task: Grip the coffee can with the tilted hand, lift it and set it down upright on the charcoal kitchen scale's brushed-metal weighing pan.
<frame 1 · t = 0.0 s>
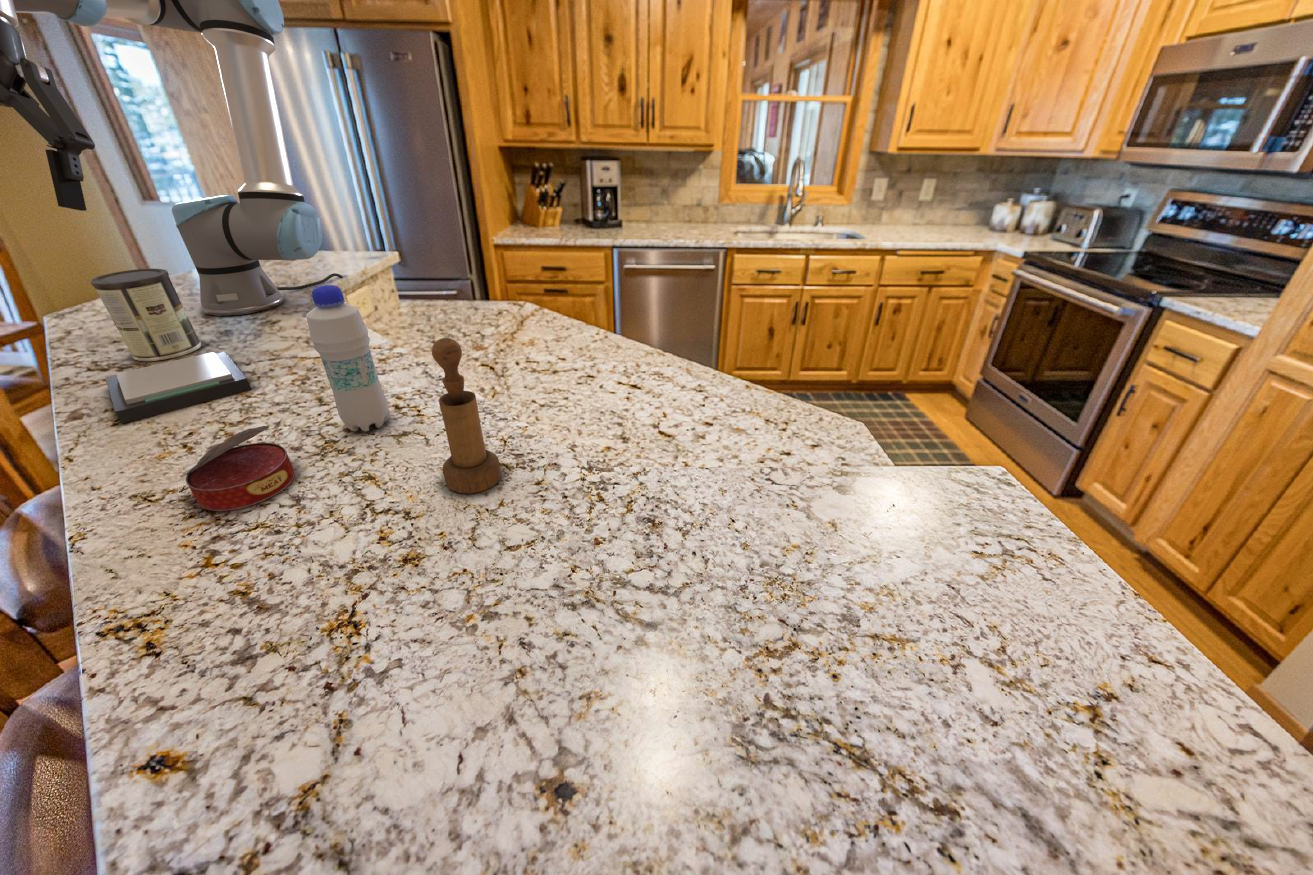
hand: (18, 208, 67), 28 cm above the countertop, tool tilted 20°, fingers open, 13 cm apart
canned food: (248, 486, 64), on the countertop
coffee can: (168, 352, 100), on the countertop
scale: (181, 389, 86), on the countertop
bottle: (368, 425, 77), on the countertop
mortar and pestle: (474, 479, 65), on the countertop
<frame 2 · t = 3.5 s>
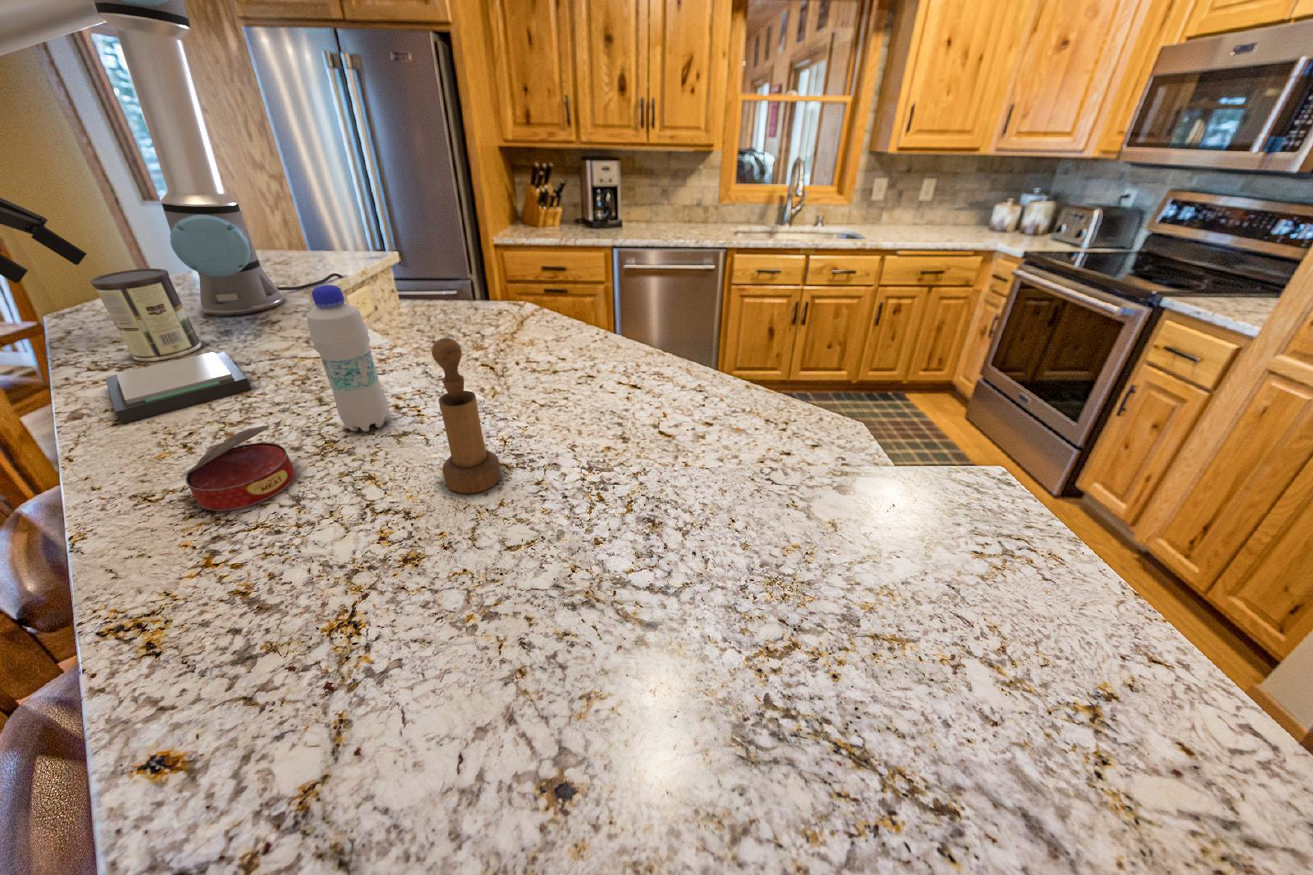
hand: (53, 267, 89), 16 cm above the countertop, tool tilted 40°, fingers open, 13 cm apart
nothing on the countertop moved.
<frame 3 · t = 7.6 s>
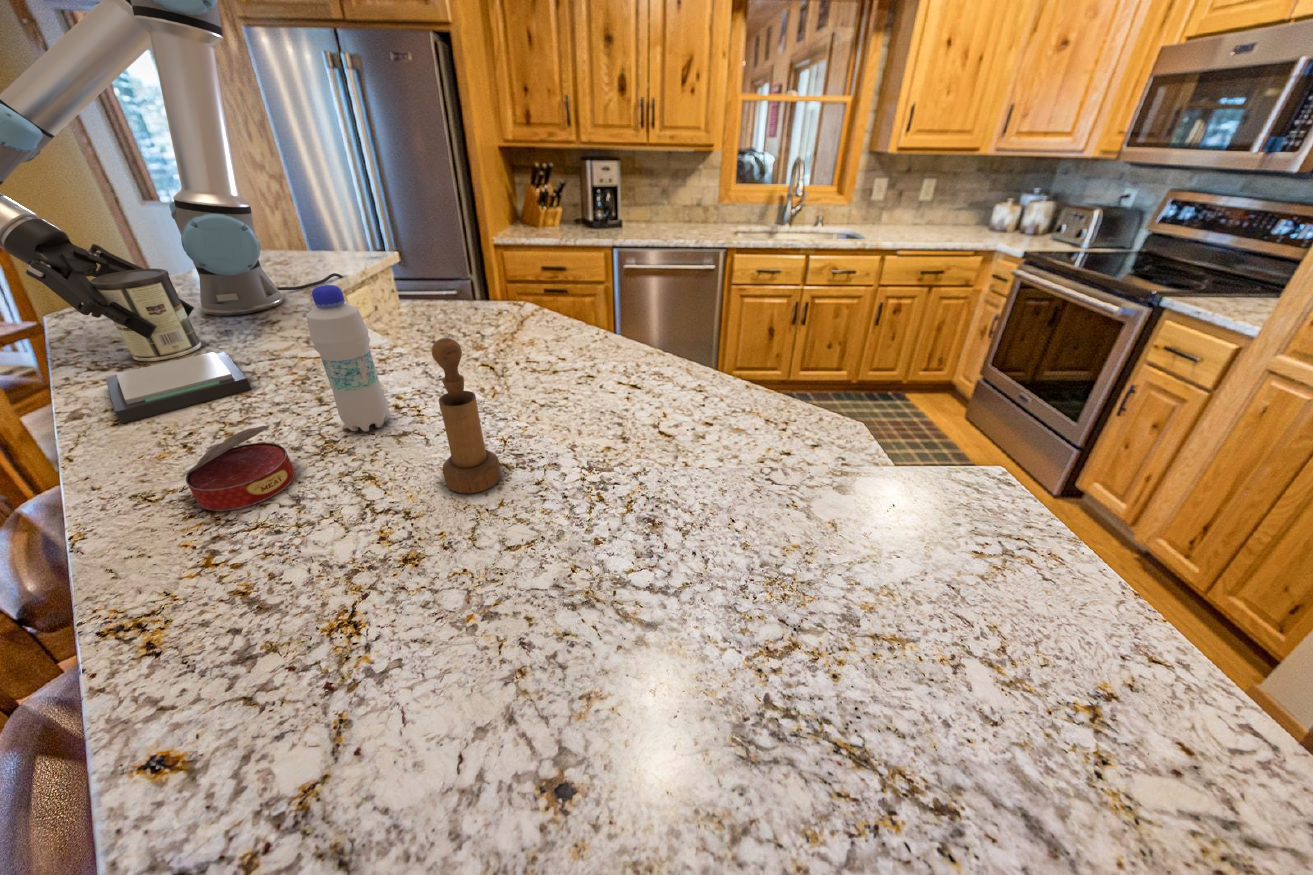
hand: (171, 322, 97), 5 cm above the countertop, tool tilted 45°, fingers closed on coffee can, 10 cm apart
coffee can: (168, 352, 100), on the countertop, touching gripper
everything else where it was.
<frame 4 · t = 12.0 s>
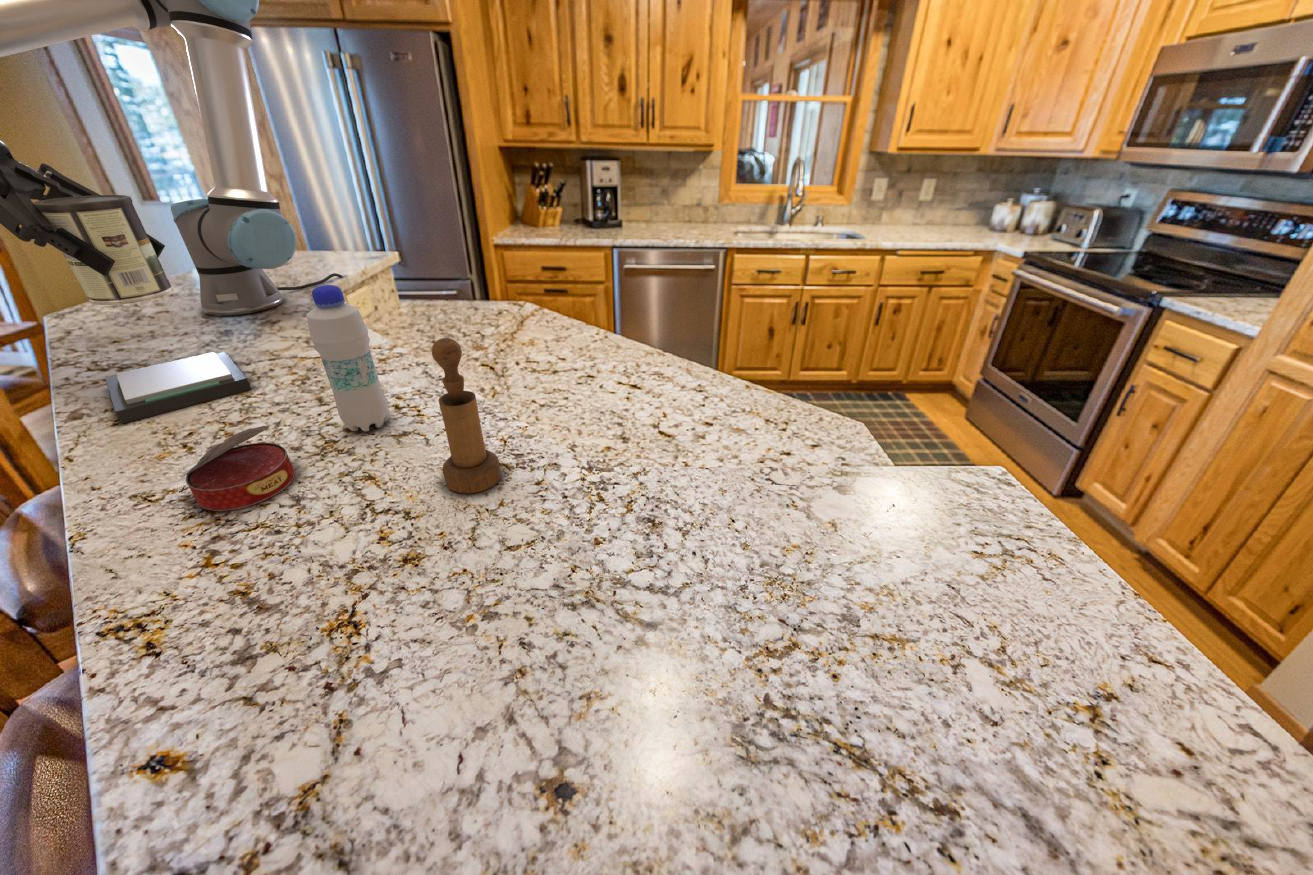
hand: (136, 259, 81), 19 cm above the countertop, tool tilted 45°, fingers closed on coffee can, 10 cm apart
coffee can: (133, 297, 84), point 13 cm above the countertop, touching gripper
everything else where it was.
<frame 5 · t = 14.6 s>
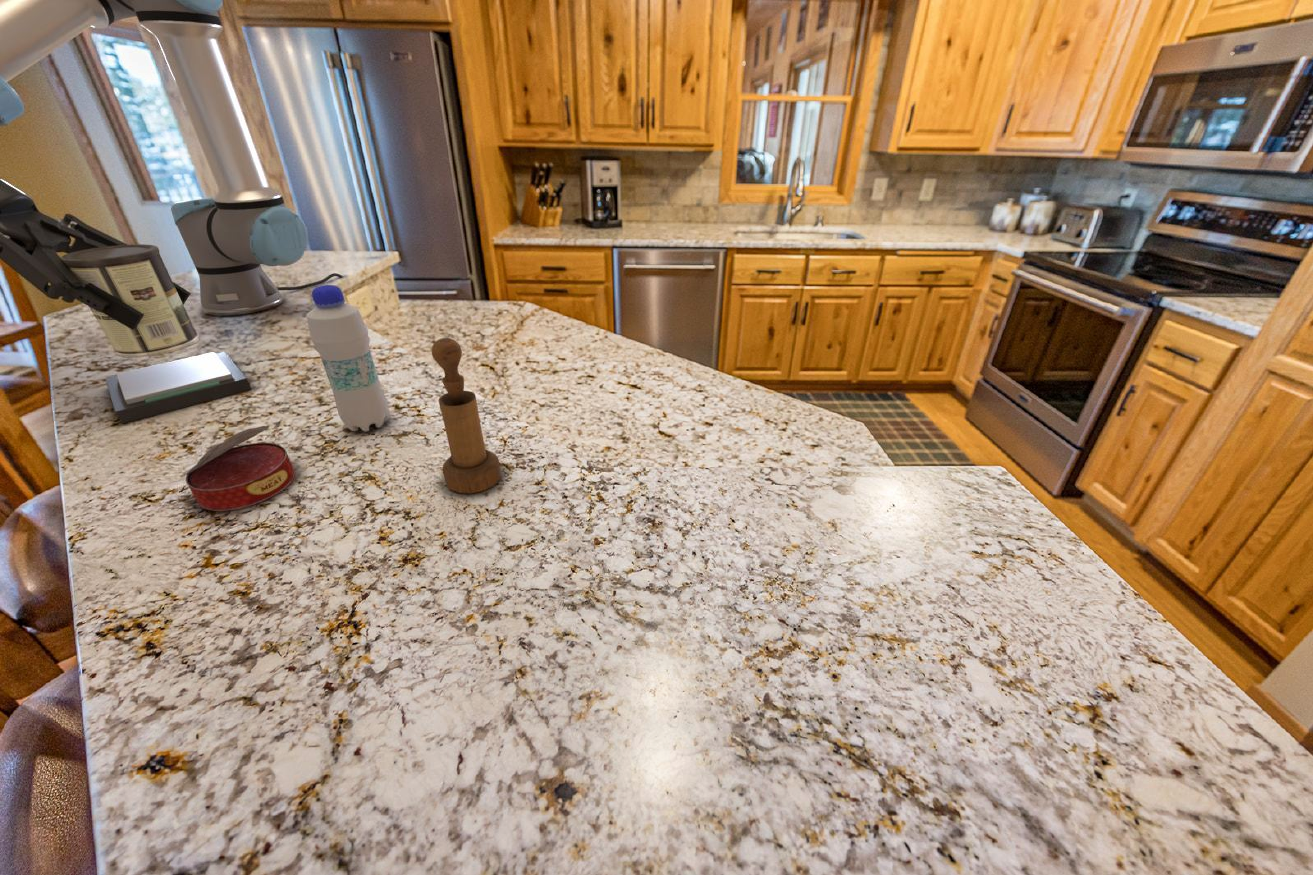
hand: (163, 310, 79), 13 cm above the countertop, tool tilted 45°, fingers closed on coffee can, 10 cm apart
coffee can: (158, 346, 82), point 7 cm above the countertop, touching gripper
everything else where it was.
when the fingers open (8 cm above the countertop, at t = 16.5 s): coffee can stays where it is, resting on scale.
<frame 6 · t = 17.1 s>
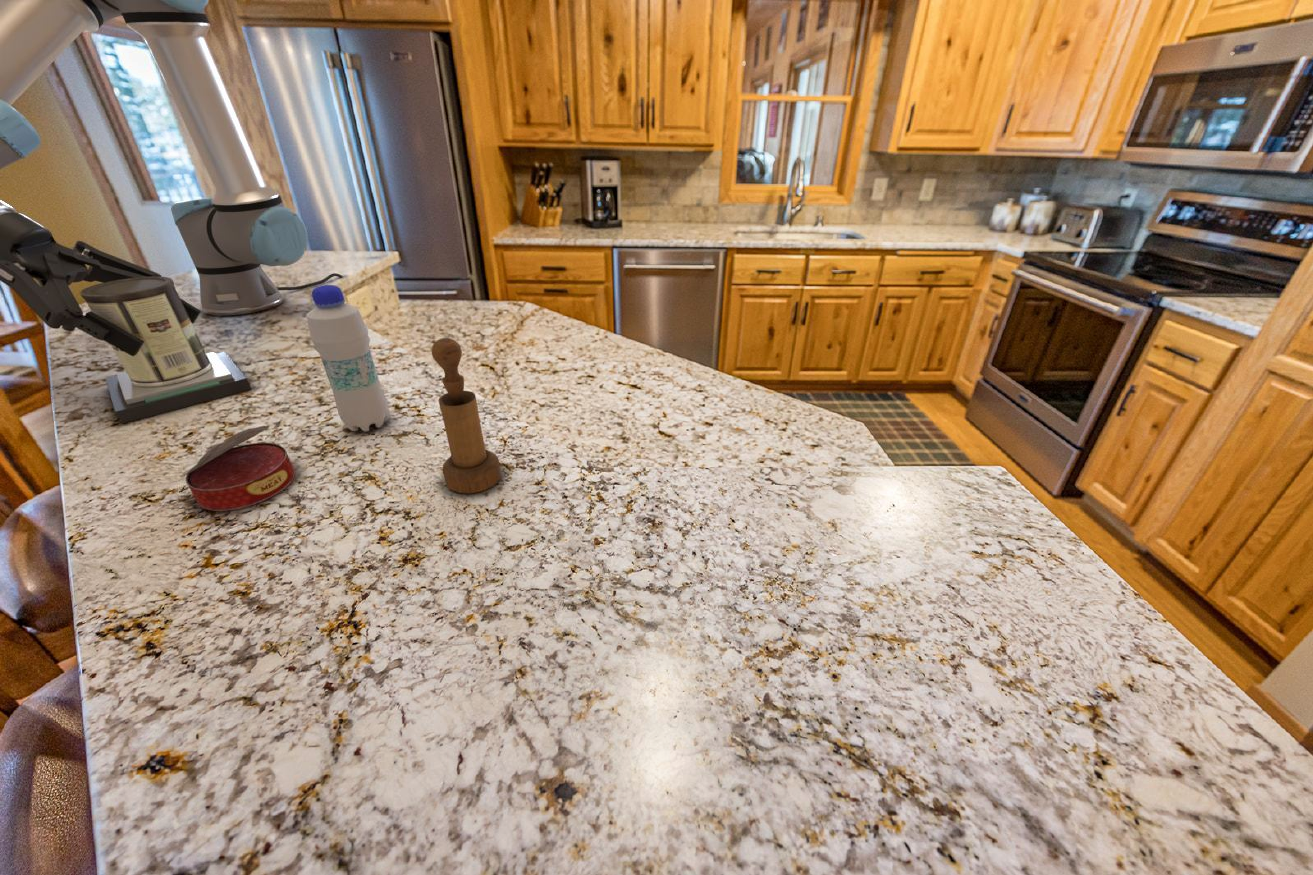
hand: (169, 332, 81), 10 cm above the countertop, tool tilted 45°, fingers open, 13 cm apart
coffee can: (173, 374, 85), point 3 cm above the countertop, touching scale
everything else where it was.
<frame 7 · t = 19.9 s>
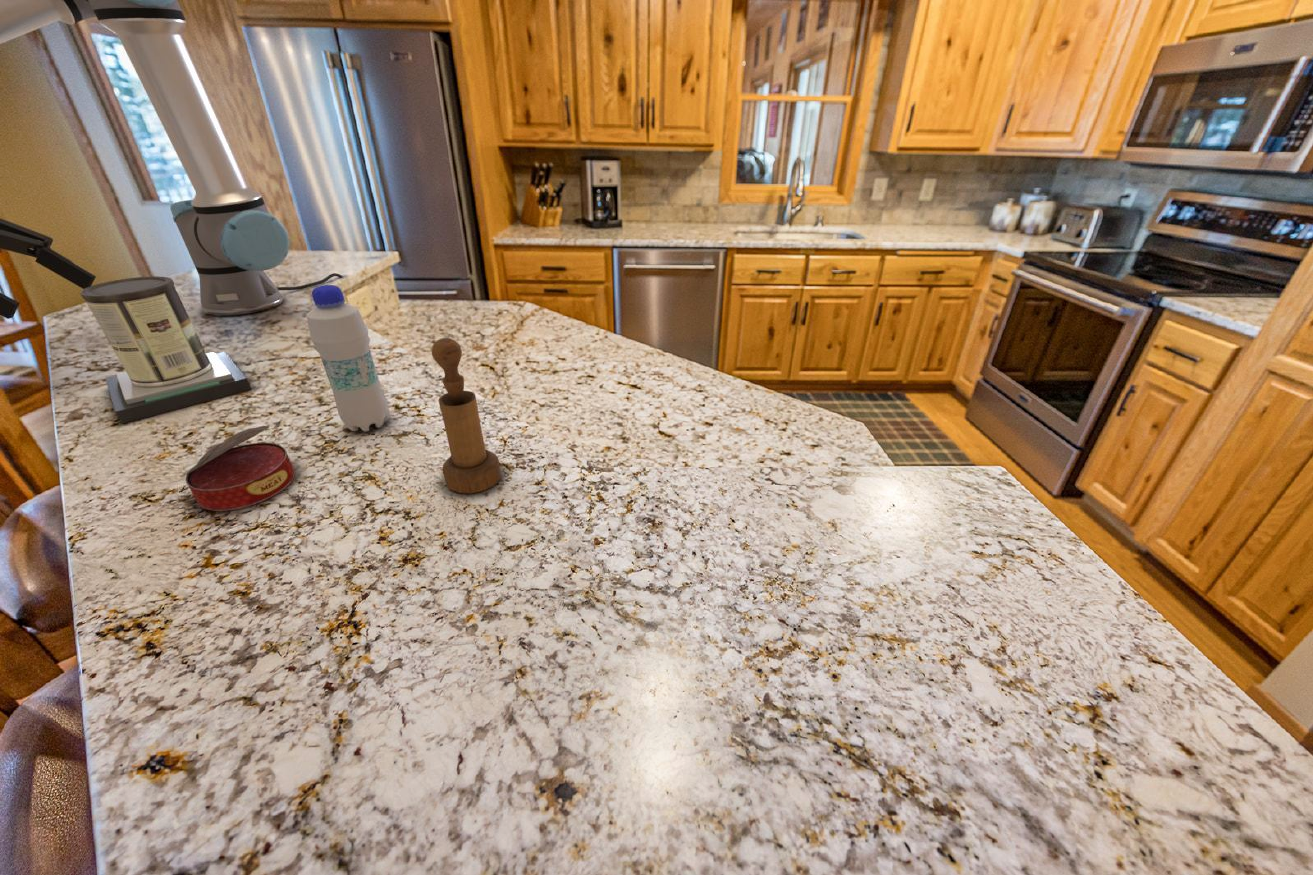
hand: (55, 296, 78), 15 cm above the countertop, tool tilted 45°, fingers open, 13 cm apart
nothing on the countertop moved.
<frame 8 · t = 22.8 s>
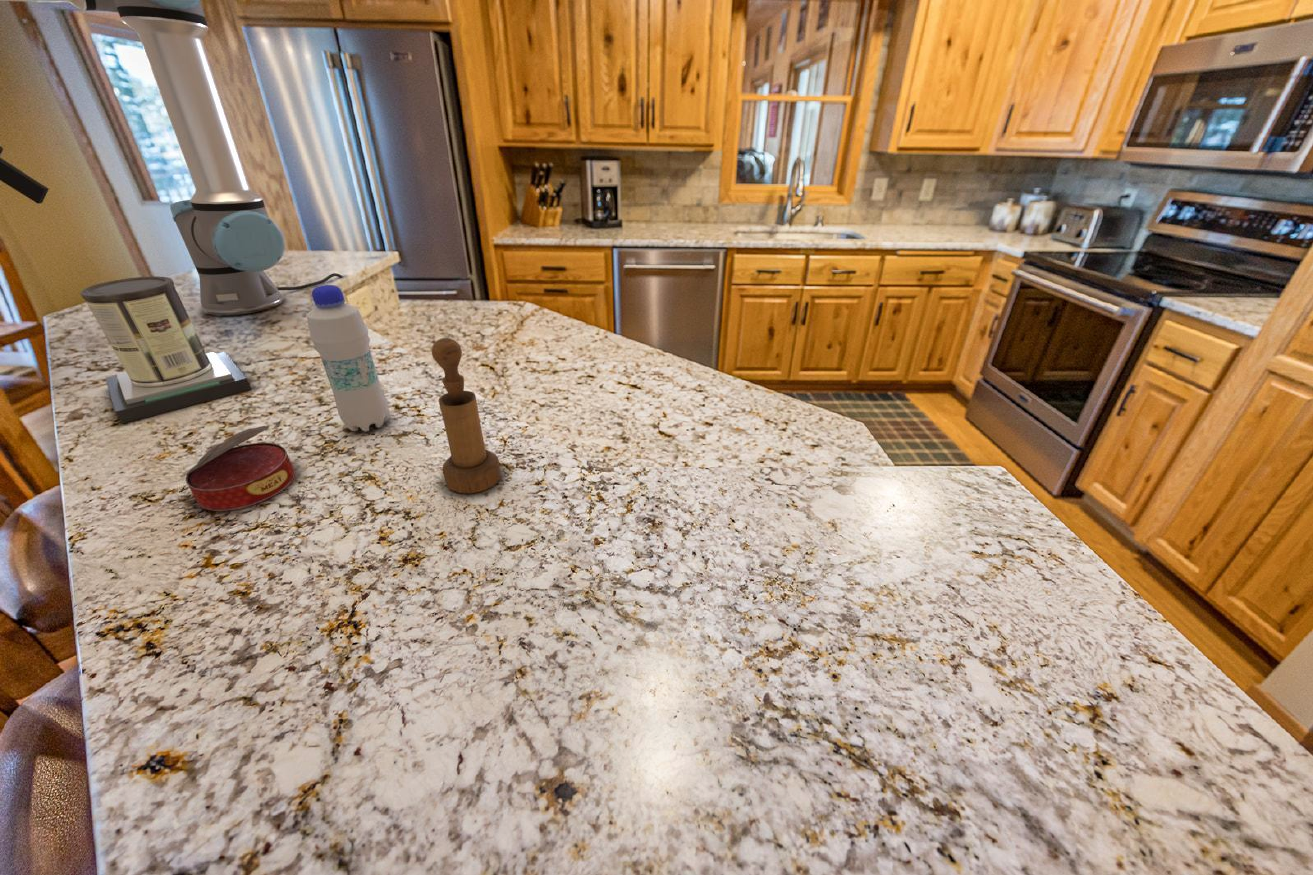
hand: (1, 202, 73), 28 cm above the countertop, tool tilted 45°, fingers open, 13 cm apart
nothing on the countertop moved.
at the end: coffee can inside the target area on the scale (0.1 cm from its centre), point 2.6 cm above the scale's base; coffee can tilted 0°; the gripper is holding nothing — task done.
